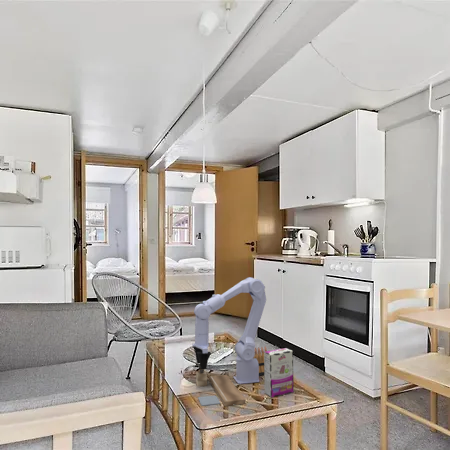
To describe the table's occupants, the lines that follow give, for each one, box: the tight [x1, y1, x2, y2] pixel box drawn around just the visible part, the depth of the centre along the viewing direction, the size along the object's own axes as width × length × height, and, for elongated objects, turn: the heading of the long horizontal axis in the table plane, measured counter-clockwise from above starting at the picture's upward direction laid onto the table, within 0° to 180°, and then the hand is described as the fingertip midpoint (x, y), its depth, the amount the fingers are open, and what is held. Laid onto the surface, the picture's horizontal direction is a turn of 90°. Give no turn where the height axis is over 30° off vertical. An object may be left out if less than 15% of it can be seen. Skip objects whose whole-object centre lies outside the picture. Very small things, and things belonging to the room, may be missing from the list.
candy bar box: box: [263, 347, 295, 398], centre depth 143 cm, size 11×5×16 cm, turn 117°
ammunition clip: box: [254, 345, 268, 377], centre depth 164 cm, size 11×2×12 cm, turn 117°
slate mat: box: [197, 394, 221, 407], centre depth 135 cm, size 7×7×1 cm
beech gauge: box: [195, 369, 208, 387], centre depth 151 cm, size 4×3×6 cm
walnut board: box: [208, 374, 247, 407], centre depth 144 cm, size 8×26×2 cm, turn 16°
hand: (201, 365), depth 151 cm, fingers open, 7 cm apart
